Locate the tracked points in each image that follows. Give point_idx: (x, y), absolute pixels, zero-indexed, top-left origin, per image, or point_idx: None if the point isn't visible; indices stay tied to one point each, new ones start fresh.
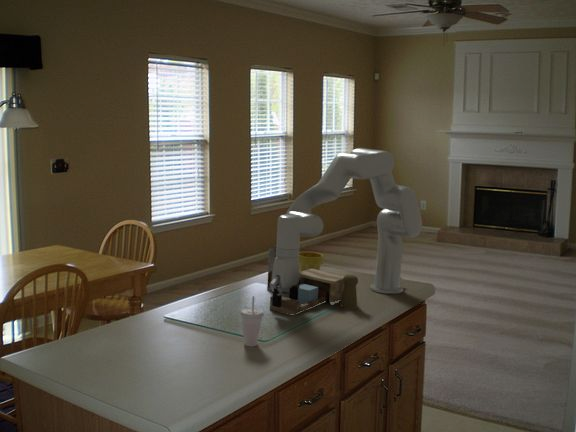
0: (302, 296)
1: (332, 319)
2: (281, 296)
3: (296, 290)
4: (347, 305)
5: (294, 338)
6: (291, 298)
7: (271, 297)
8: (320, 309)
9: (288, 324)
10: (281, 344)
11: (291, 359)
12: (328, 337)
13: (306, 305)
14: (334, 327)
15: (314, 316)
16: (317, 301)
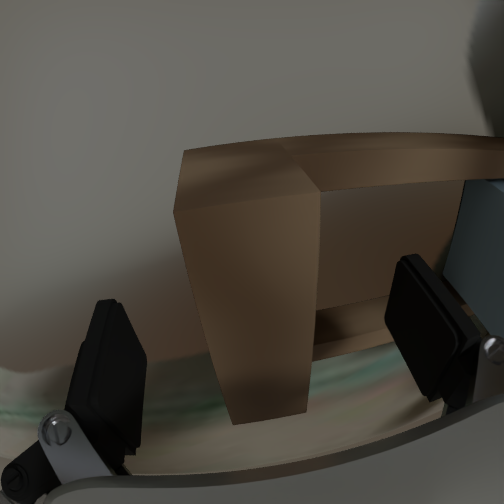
0: (493, 272)
1: (324, 416)
2: (131, 447)
3: (423, 394)
4: None
5: None
6: (398, 289)
7: (177, 227)
8: None
9: None
10: (5, 433)
11: (6, 456)
12: (155, 469)
13: (388, 339)
14: (244, 451)
15: (310, 382)
16: None
